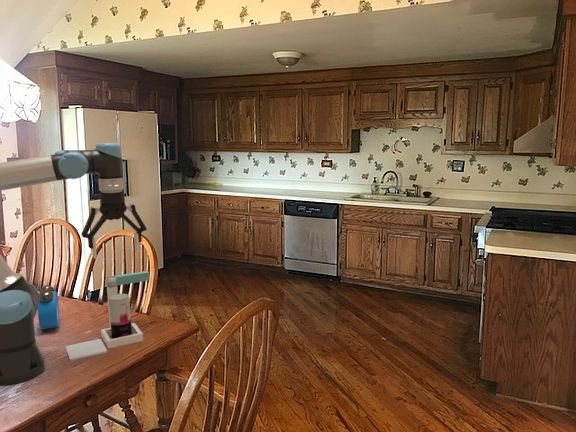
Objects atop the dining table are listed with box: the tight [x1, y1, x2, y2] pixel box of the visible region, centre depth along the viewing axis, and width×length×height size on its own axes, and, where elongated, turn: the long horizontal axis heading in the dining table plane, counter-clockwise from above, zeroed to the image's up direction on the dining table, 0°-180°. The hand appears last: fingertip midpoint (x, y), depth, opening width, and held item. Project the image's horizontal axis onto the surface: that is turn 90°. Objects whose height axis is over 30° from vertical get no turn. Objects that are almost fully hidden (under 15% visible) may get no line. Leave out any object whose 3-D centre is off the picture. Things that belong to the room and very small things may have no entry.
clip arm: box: [105, 270, 150, 288], centre depth 175 cm, size 4×15×3 cm, turn 120°
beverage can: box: [109, 293, 133, 339], centre depth 165 cm, size 6×7×15 cm
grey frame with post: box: [100, 285, 144, 350], centre depth 168 cm, size 11×18×16 cm, turn 31°
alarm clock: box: [37, 284, 60, 331], centre depth 175 cm, size 13×6×15 cm, turn 23°
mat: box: [65, 338, 108, 362], centre depth 157 cm, size 11×11×1 cm
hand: (116, 254), depth 161 cm, fingers open, 13 cm apart
